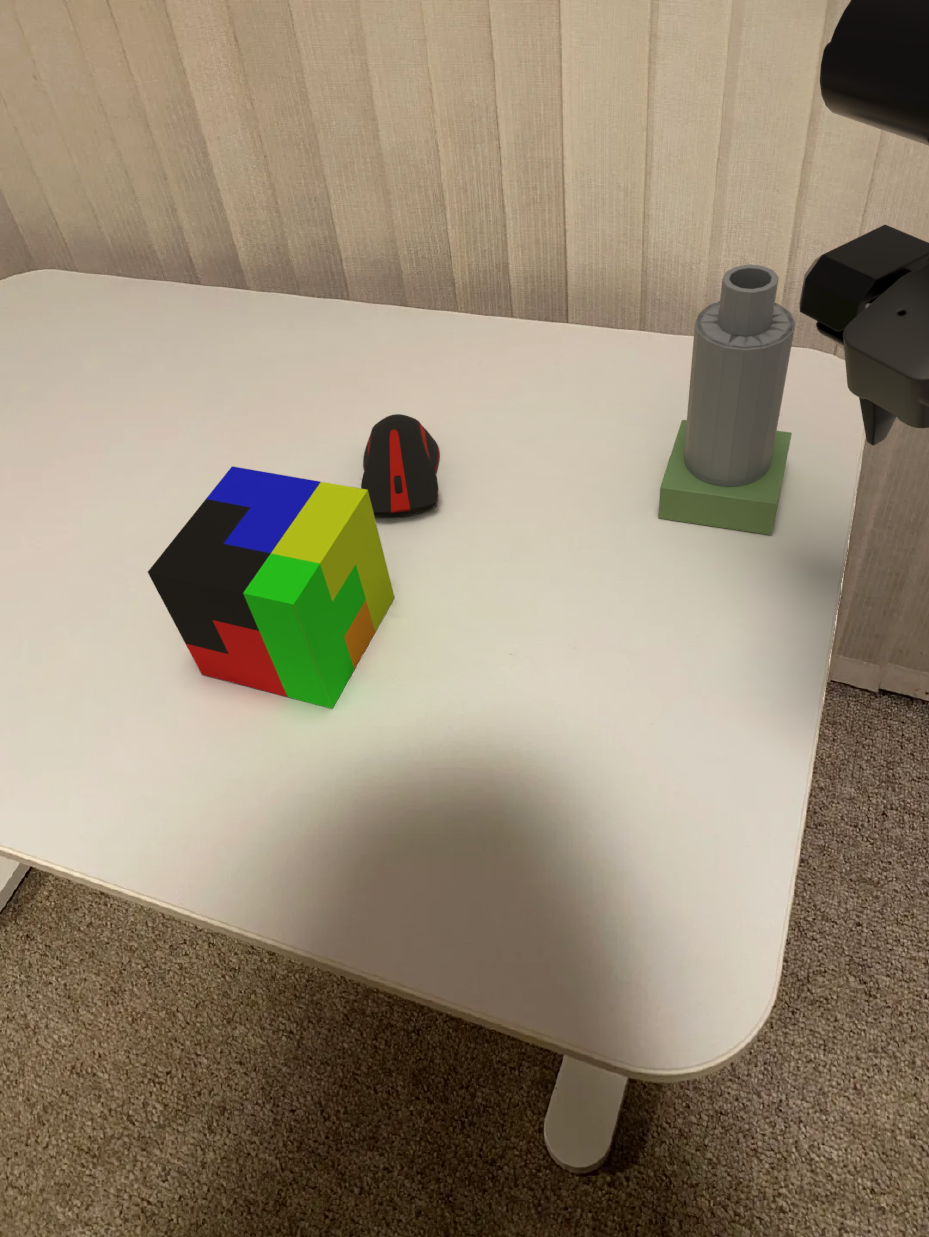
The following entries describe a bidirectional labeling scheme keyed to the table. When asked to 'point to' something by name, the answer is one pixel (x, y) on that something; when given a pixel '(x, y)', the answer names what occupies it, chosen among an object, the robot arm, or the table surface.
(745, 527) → the green block
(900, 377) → the robot arm
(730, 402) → the flask
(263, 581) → the puzzle toy
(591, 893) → the table surface
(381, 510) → the computer mouse
